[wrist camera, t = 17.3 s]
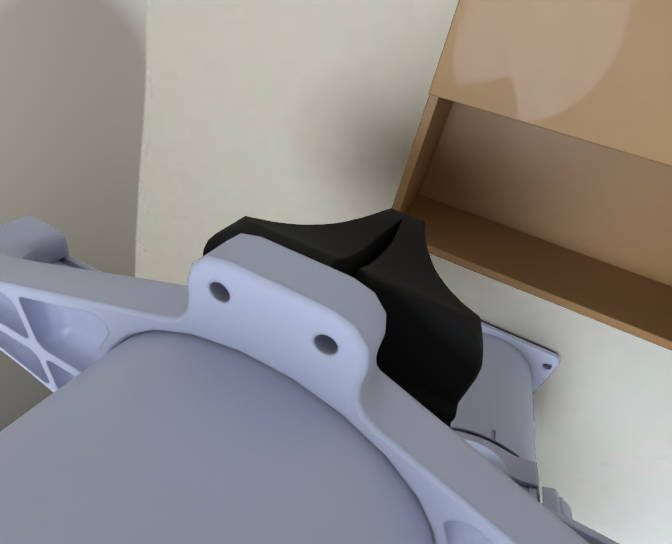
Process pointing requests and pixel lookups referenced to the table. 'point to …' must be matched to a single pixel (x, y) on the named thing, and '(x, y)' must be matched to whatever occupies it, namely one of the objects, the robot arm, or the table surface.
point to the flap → (567, 68)
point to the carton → (545, 214)
